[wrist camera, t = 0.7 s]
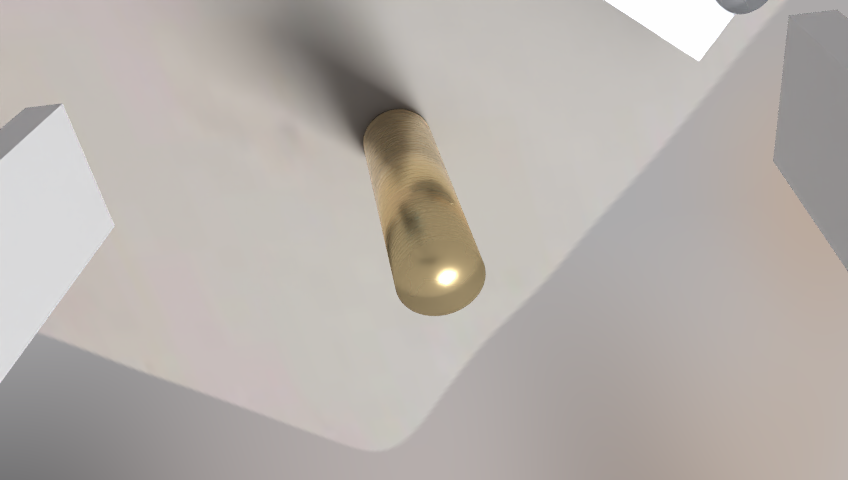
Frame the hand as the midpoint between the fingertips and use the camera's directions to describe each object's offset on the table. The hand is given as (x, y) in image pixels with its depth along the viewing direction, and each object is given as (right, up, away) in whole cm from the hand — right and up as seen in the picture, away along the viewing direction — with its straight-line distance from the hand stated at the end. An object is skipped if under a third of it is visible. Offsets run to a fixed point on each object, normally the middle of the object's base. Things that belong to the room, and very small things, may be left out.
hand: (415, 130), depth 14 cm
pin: (-1, +3, +22) cm, 22 cm away
